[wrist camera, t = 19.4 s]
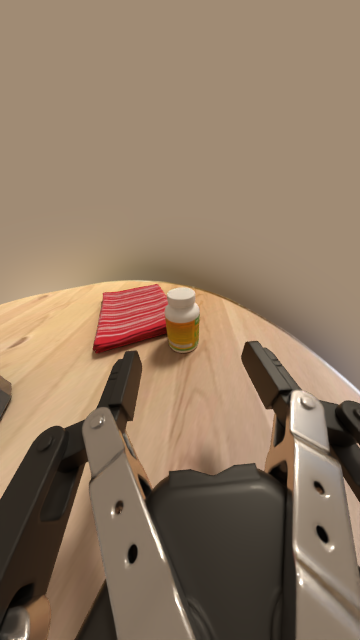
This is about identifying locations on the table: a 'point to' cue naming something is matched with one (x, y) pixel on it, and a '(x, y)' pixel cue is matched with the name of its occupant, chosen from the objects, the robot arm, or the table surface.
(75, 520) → the table surface
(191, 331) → the supplement bottle
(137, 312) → the dish towel
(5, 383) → the fruit bowl
